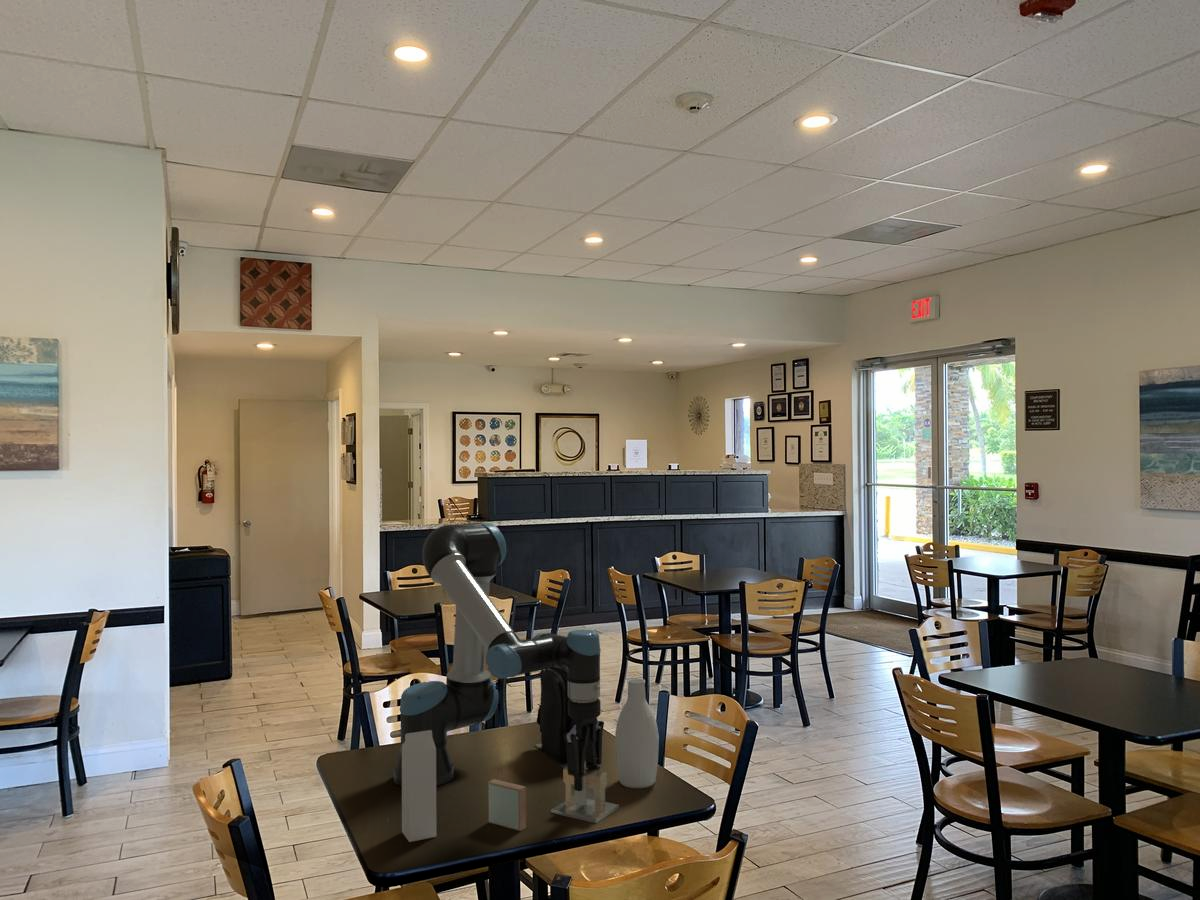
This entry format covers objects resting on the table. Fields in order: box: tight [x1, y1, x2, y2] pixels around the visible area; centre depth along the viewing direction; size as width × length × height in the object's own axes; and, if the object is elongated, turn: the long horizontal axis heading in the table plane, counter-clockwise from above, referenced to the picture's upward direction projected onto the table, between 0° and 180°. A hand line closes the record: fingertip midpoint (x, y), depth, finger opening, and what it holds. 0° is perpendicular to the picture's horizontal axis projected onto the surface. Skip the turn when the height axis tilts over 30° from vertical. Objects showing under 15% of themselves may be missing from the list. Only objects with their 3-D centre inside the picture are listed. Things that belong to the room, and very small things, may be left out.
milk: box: [401, 730, 437, 843], centre depth 189 cm, size 6×6×22 cm
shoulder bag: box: [535, 668, 579, 769], centre depth 241 cm, size 23×9×28 cm, turn 25°
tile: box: [487, 778, 527, 832], centre depth 193 cm, size 9×2×9 cm, turn 57°
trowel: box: [550, 767, 620, 824], centre depth 201 cm, size 12×10×9 cm
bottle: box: [614, 678, 660, 789], centre depth 219 cm, size 11×11×25 cm
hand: (585, 800), depth 201 cm, fingers closed on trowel, 3 cm apart
